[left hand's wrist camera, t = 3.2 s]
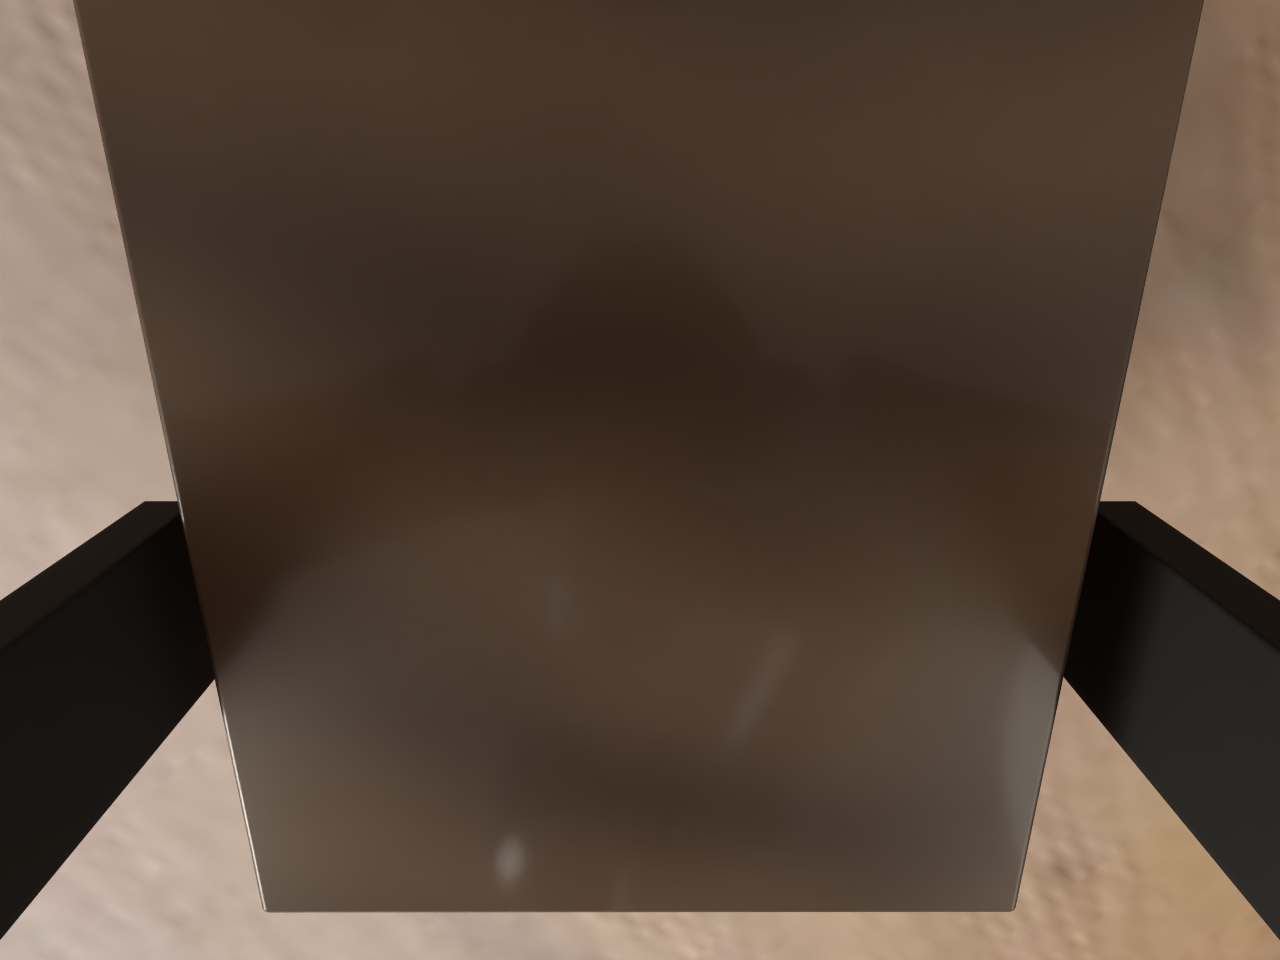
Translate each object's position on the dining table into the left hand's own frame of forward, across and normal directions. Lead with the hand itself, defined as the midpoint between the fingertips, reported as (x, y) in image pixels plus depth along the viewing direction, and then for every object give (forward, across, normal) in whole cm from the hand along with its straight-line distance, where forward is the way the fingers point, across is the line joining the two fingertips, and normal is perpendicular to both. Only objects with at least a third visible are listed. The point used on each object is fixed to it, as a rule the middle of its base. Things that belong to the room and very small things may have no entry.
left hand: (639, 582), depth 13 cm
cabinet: (+8, 0, -4) cm, 9 cm away
